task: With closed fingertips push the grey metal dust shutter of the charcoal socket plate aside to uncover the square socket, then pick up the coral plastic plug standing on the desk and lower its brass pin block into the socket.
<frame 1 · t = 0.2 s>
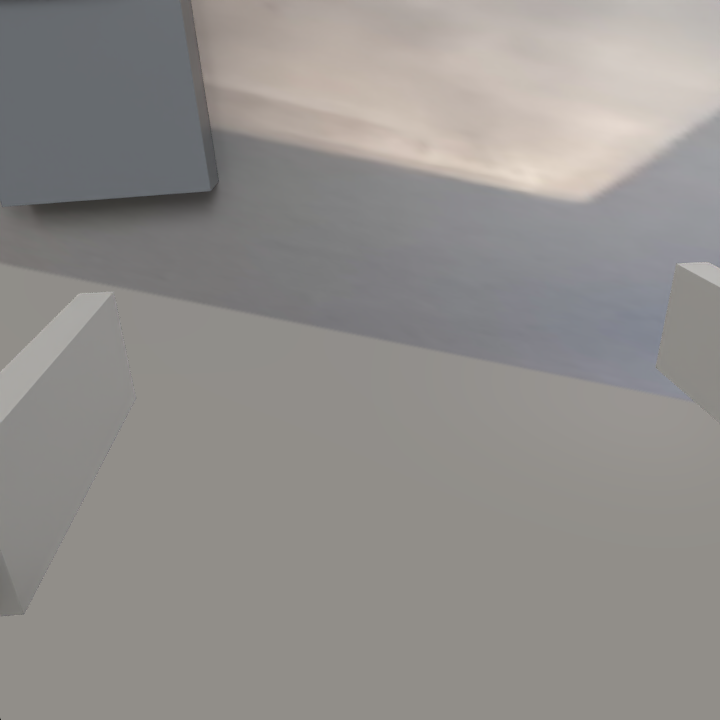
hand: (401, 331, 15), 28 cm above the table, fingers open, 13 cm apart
socket block: (83, 7, 35), on the table
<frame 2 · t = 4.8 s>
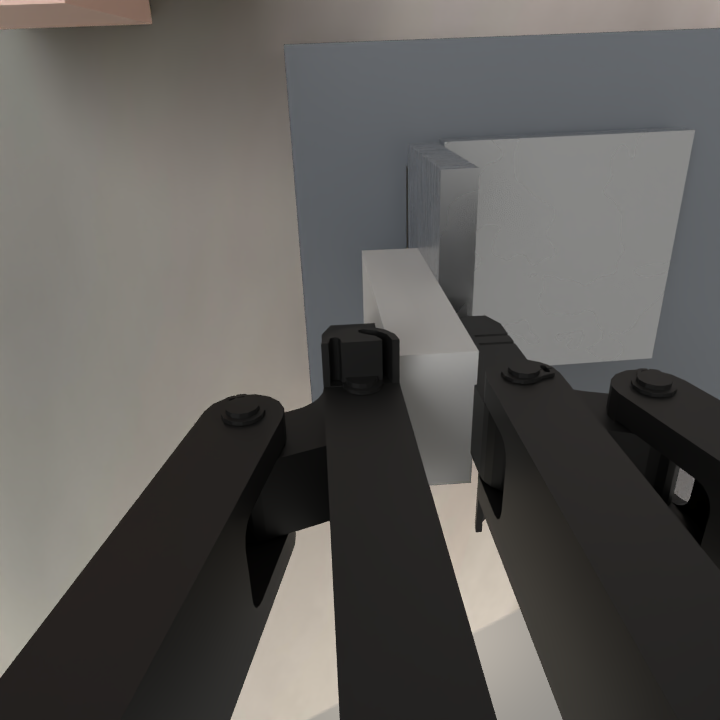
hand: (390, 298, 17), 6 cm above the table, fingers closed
socket block: (574, 220, 23), on the table
shutter: (564, 280, 17), point 6 cm above the table, slide at 1.6 cm, touching gripper
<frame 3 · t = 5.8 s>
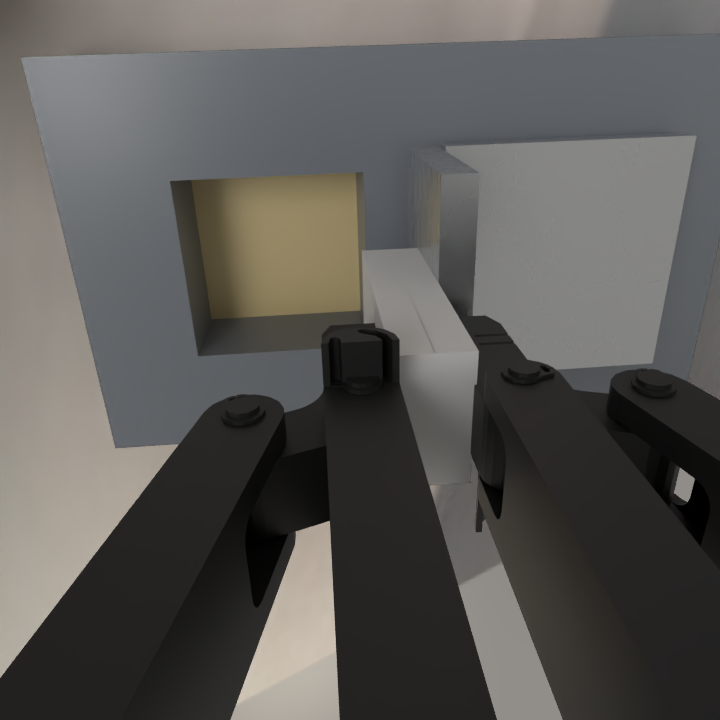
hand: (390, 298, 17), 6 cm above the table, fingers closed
socket block: (391, 234, 22), on the table
shutter: (565, 285, 17), point 6 cm above the table, slide at 8.4 cm, touching gripper
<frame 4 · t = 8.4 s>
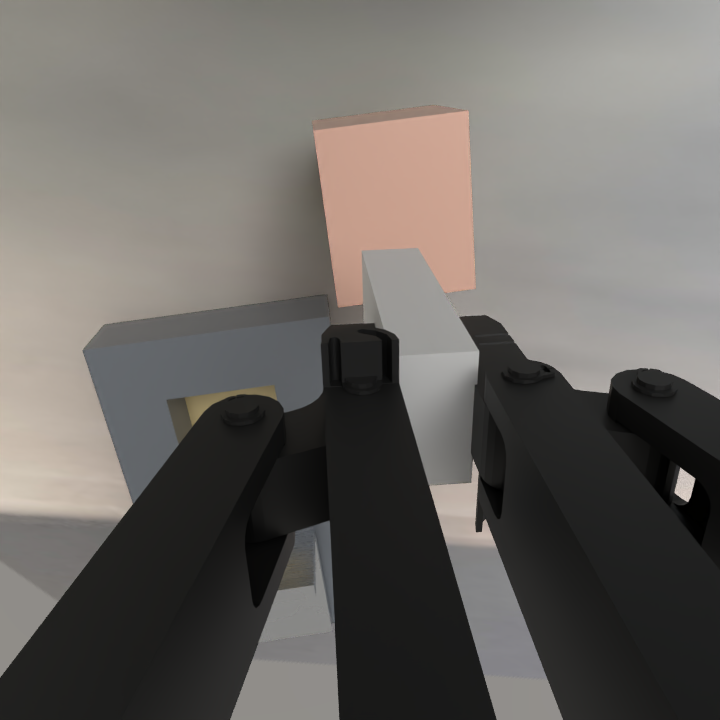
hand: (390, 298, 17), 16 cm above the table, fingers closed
socket block: (250, 464, 37), on the table
plug: (369, 172, 31), on the table
shutter: (260, 614, 34), point 6 cm above the table, slide at 10.0 cm
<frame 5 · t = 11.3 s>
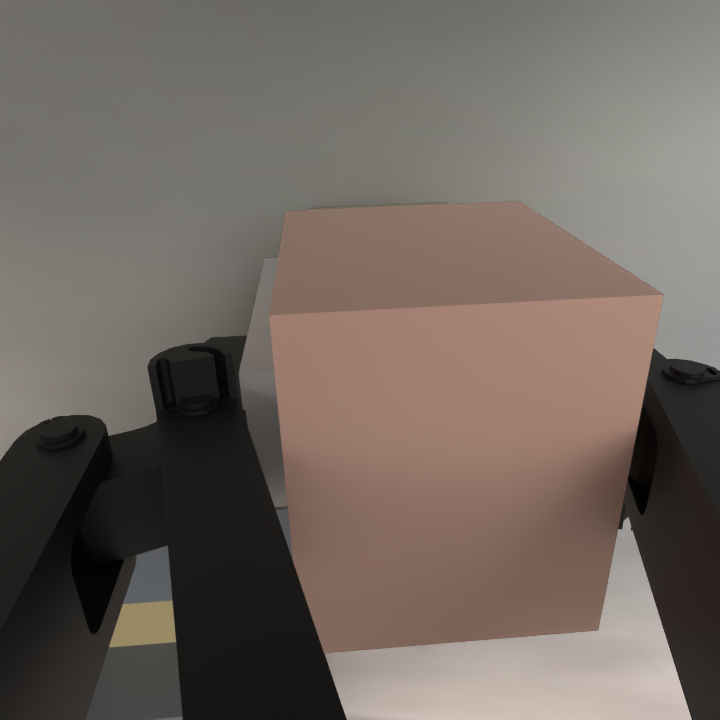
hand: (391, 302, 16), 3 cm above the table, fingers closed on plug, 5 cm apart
socket block: (167, 658, 25), on the table
plug: (380, 271, 19), on the table, touching gripper
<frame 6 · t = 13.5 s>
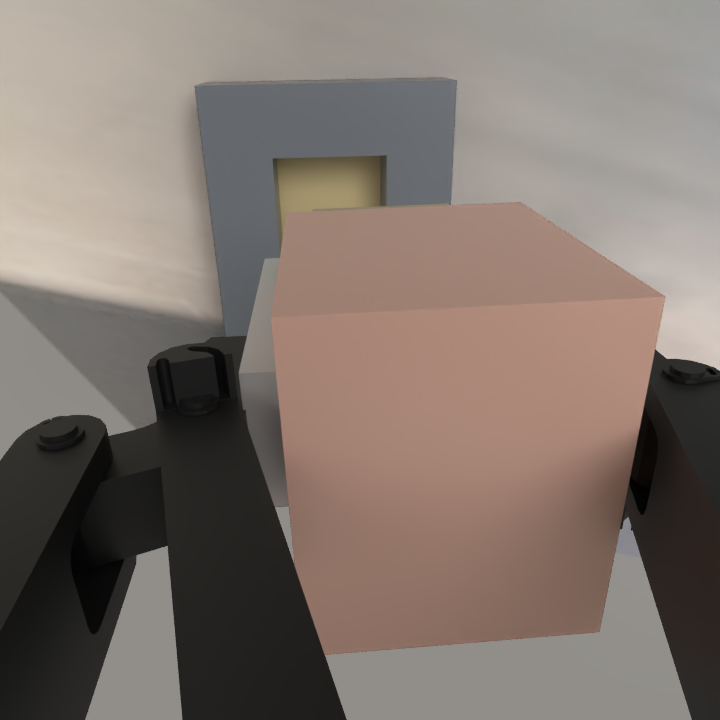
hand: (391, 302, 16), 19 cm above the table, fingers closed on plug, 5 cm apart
socket block: (332, 268, 36), on the table
plug: (381, 272, 19), point 17 cm above the table, touching gripper
when the fingers open (5 cm above the table, at t = 16.0 s): plug drops 2 cm, resting on socket block.
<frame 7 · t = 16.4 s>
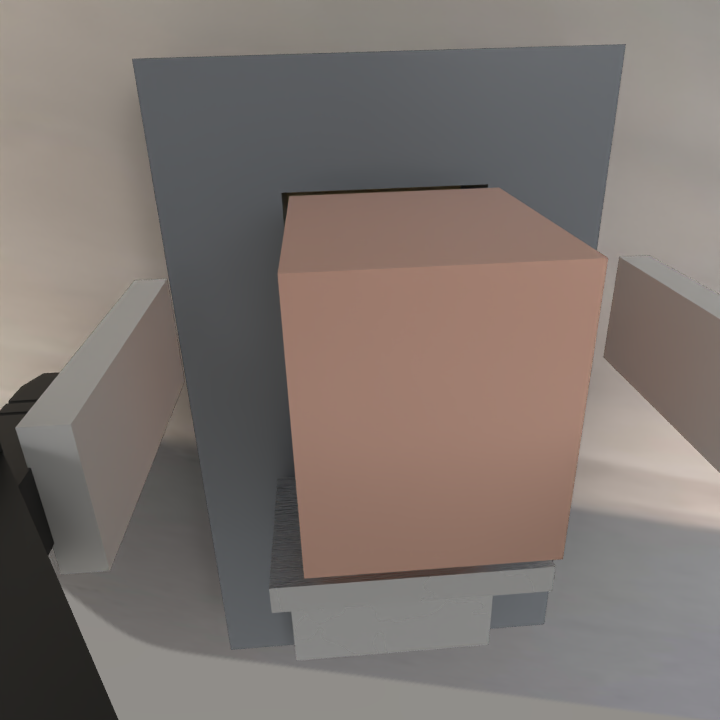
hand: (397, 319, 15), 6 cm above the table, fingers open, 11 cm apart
socket block: (376, 361, 22), on the table
plug: (376, 256, 20), resting on socket block
shutter: (399, 612, 19), point 6 cm above the table, slide at 10.0 cm
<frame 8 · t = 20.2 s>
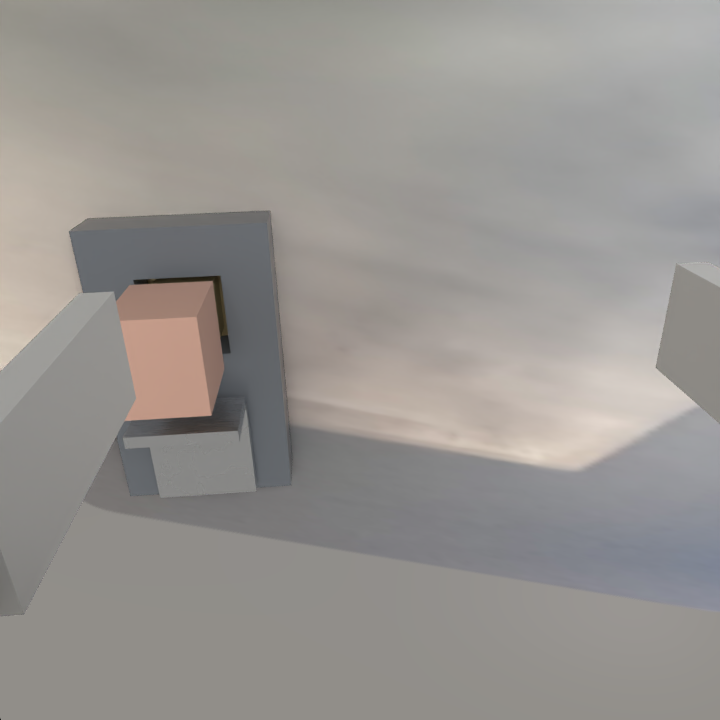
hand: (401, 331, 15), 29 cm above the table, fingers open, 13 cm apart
socket block: (200, 350, 46), on the table
plug: (192, 301, 44), resting on socket block
shutter: (196, 463, 42), point 6 cm above the table, slide at 10.0 cm
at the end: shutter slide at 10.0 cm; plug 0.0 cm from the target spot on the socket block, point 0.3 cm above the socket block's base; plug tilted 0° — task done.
